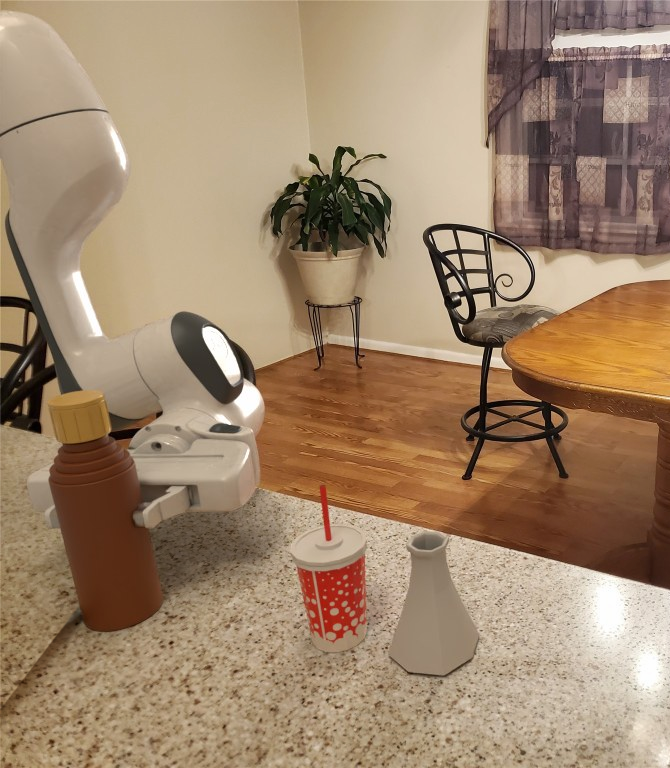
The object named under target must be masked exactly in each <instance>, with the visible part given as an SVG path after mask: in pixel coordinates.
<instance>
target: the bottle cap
mask: <svg viewBox="0 0 670 768" xmlns="http://www.w3.org/2000/svg"><path fill="white" fill-rule="evenodd" d="M46 403H47V407H48V412H49V417H50V420H51V421H50V422H51V425H52V429H53V434H54V437H55V440H56V442H58V443H59V444H62V443H66V444H72V443H82V442H87V441H91V440H95V439H98V438H101V437H103V436H105V435H107V434H108V435H109V434H110V433H111V432H112V431H111V428H112V427H111V422H110V418H109V413H108V408H107V404H106V401H105V398H104V393H103V392H102V391H98V390H84V391H76V392H70V393H66V394H62V395H61V394H59V395H56V396H54V397H52V398H50V399H48V400H47V402H46Z"/></svg>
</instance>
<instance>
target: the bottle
mask: <svg viewBox="0 0 670 768" xmlns="http://www.w3.org/2000/svg"><path fill="white" fill-rule="evenodd" d="M61 444H62V445H61V446H60V447H59V448H58V449H57V455H56V456H55V457H54V458H53V462H54V464H53V465H52V466H51V467H50V469H49V472H50V476H49V479H48V481H49V485H50V489H51V493H52V497H53V501H54V505H55V509H56V513H57V517H58V521H59V525H60V529H59V530H60V533H61V537H62V540H63V544H64V549H65V552H66V556H67V560H68V561H67V562H68V564H69V568H70V572H71V576H72V581H73V584H74V588H75V592H76V596H77V600H78V604H79V608H80V612H81V616H82V620H83V624H84V625H85V626H86V627H87V628H88V629H89V630H92V631H95V632H113V631H114V632H115V631H118V630H123V629H127V628H129V627H133V626H136V625H137V624H139V623H142V622H143V621H145V620H147V619H149V618H151V616H152V615H154V614H155V613H156V612H157V611H158V610H159V609H160V607H161V606H162V605H163V602H164V595H163V591H162V586H161V585H162V584H161V582H160V581H161V580H160V576H159V572H158V567H157V561H156V557H155V553H154V548H153V543H152V538H151V533H150V528H135V527H134V522H135V521H134V520H133V518H132V512H133V510H134V509H136V508H138V506H139V505H140V504H141V503H142V502H143V499H142V494H141V489H140V485H139V480H138V475H137V470H136V465H135V461H134V460H133V458H131V456H130V453H129V451H127V450H125V448H124V447H123V445H122V444H121V443H118V442H116V439H115V438H114V437H112V436H109V433H108V434H107V435H105V436H103V437H101V438H98V439H95V440H91V441H87V442H82V443H72V444H66V443H61Z"/></svg>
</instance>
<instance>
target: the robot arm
mask: <svg viewBox="0 0 670 768" xmlns="http://www.w3.org/2000/svg"><path fill="white" fill-rule="evenodd" d="M0 161H1V164H2V167H3V169H4V170H3V171H4V173H5V176H6V182H7V186H8V195H9V209H8V210H7V212H6V215H5V218H4V228H5V233H6V238H7V242H8V245H9V249H10V251H11V254H12V257H13V259H14V263H15V265H16V267H17V270H18V273H19V276H20V278H21V281H22V283H23V286H24V288H25V291H26V293H27V296H28V298H29V300H30V303H31V306H32V308H33V311H34V313H35V316H36V318H37V322H38V324H39V326H40V329H41V331H42V333H43V336H44V339H45V341H46V344H47V346H48V349H49V352H50V354H51V357H52V360H53V365H54V369H55V370H54V371H55V374H56V381H57V385H58V388H59V393H60V395H62V394H66V393H70V392H76V391H84V390H98V391H102V392H103V393H104V398H105V401H106V404H107V408H108V413H109V418H110V422H111V427H112V428H111V432H118V431H122V430H124V429H126V428H128V427H131V426H133V425H135V424H138V423H139V422H141V421H143V420H145V419H147V418H149V417H150V416H153V415H155V414H158V413H161V412H162V414H161V415H160V416H159V417H157V418H156V419H154V420H152V421H151V422H150V423H148V424H146V425H145V426H143V427H142V428H141V429H139V430H138V431H137V432H136V433H135V435H134V436H133V437H132V438H131V441H130V442H129V445H128V449H127V448H126V449H125V448H124V449H125V450H127V451H129V453H130V456H131V458H133V460H134V461H135V465H136V470H137V475H138V480H139V485H140V489H141V494H142V499H143V502H142V503H141V504H140V505H139V506H138V508H136V509H134V510H133V512H132V518H133V520H134V521H135V522H134V527H135V528H149V529H154V528H156V527H157V525H158V524H160V523H161V522H162V521H165V520H168V519H170V518H173V517H177V516H178V515H180V514H184V513H185V512H186V513H188V512H189V513H192V512H193V513H194V512H195V513H200V512H203V513H205V512H206V513H207V512H208V513H209V512H213V513H214V512H215V513H216V512H217V513H218V512H221V513H223V512H224V513H226V512H231V511H235V510H237V509H240V508H242V507H244V505H245V504H246V503H248V502H249V500H250V499H251V497H252V496H253V495H254V493H255V491H256V488H257V487H258V486H259V485H260V484H261V465H260V458H259V457H260V456H259V449H258V446H257V441H256V437H257V436H258V434H259V433H260V431H261V428H262V426H263V423H264V420H265V414H266V406H265V402H264V397H263V396H262V394H261V392H260V390H259V389H258V388H257V387H256V385H254V384H253V383H252V382H251V381H250V380H248V379H246V378H245V377H244V376H245V375H244V370H243V365H242V362H241V359H240V357H239V354H238V351H237V350H236V348H235V346H234V344H233V343H232V340H231V339H230V337H229V336H228V335H227V334H226V333H225V331H224V330H223V329H222V328H220V327H219V326H217V325H216V324H215V323H214V322H212V321H211V320H208V318H205V317H203V316H201V315H199V314H197V313H194V312H190V311H185V310H184V311H183V310H182V311H179V312H176V313H173V314H171V315H168V316H166V317H163V318H160V319H157V320H154V321H152V322H149V323H147V324H145V325H142V326H140V327H138V328H136V329H133V330H130V331H128V332H124V333H122V334H120V335H117V336H114V337H112V338H109V337H108V336H107V335H106V334H105V333H104V330H103V328H102V326H101V323H100V321H99V317H98V315H97V312H96V310H95V307H94V305H93V301H92V299H91V297H90V294H89V291H88V288H87V286H86V283H85V280H84V277H83V275H82V270H81V258H82V253H83V250H84V248H85V246H86V243H87V242H88V240H89V238H90V236H92V234H93V232H95V230H96V229H97V228H98V227H99V226H100V225H101V223H102V222H104V221H105V220H106V218H108V216H109V215H110V214H111V213H112V212H113V211H114V210H115V208H116V207H117V206H118V205H119V203H120V201H121V200H122V198H123V196H124V195H125V192H126V190H127V187H128V184H129V180H130V176H131V175H130V174H131V161H130V158H129V154H128V151H127V148H126V146H125V142H124V140H123V139H122V136H121V134H120V132H119V130H118V128H117V126H116V124H115V122H114V121H113V117H112V116H111V114H110V112H109V110H108V109H107V107H106V105H105V103H104V101H103V99H102V98H101V95H100V93H99V92H98V90H97V89H96V87H95V86H94V84H93V81H91V79H90V77H89V75H88V74H87V72H86V71H85V69H84V67H83V66H82V65H81V63H80V61H79V60H78V59H77V58H76V56H75V55H74V53H73V52H72V50H71V49H70V47H69V46H68V45H67V43H66V42H65V40H64V39H63V38H62V37H61V36H60V34H59V33H58V32H57V30H56V29H54V27H53V26H52V25H50V23H48V22H47V21H45V20H44V19H42V18H40V17H38V16H36V15H34V14H31V13H27V12H24V11H18V10H11V9H10V10H8V9H7V10H5V9H4V10H3V9H2V10H0ZM53 464H54V461H53V462H50V463H49V464H47V465H45V466H43V467H41V468H39V469H38V470H36V471H34V472H32V473H30V474H29V475H28V476H27V478H26V490H27V494H28V497H29V500H30V501H29V502H30V503H31V506H32V508H33V510H34V511H35V512H38V513H43V519H44V522H45V525H46V528H47V529H48V530H49V529H51V530H54V529H55V530H58V529H59V530H61V529H60V525H59V521H58V517H57V513H56V509H55V505H54V501H53V497H52V493H51V489H50V485H49V481H48V479H49V476H50V472H49V469H50V467H51V466H52V465H53Z"/></svg>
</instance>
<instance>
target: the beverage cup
mask: <svg viewBox="0 0 670 768" xmlns="http://www.w3.org/2000/svg"><path fill="white" fill-rule="evenodd" d="M319 493H320V502H321V511H322V520H323V525H318V526H315V527H313V528H310V529H308V530H306V531H304V532H302V533H300V534H299V535H298V536H296V537H295V538H294V540H293V541H292V542H291V544H290V556H291V561H292V562H293V563H294V564H295V566H296V570H297V575H298V581H299V585H300V590H301V595H302V598H303V603H304V608H305V613H306V618H307V623H308V628H309V632H310V638H311V642H312V645H313V646H314V647H315V648H316V649H317V650H319V651H322V652H325V653H340V652H345V651H349V650H351V649H352V648H354V647H357V646H358V645H359V644H360V643H361V642H363V641H364V640H365V638H366V636H367V633H368V616H367V587H366V585H367V584H366V581H367V580H366V552H367V549H368V537H367V533H366V531H365V530H364V529H362V528H361V527H359V526H356V525H353V524H349V523H331V520H330V514H329V513H330V512H329V504H328V496H327V487H326V485H325V484H321V485H319Z"/></svg>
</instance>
